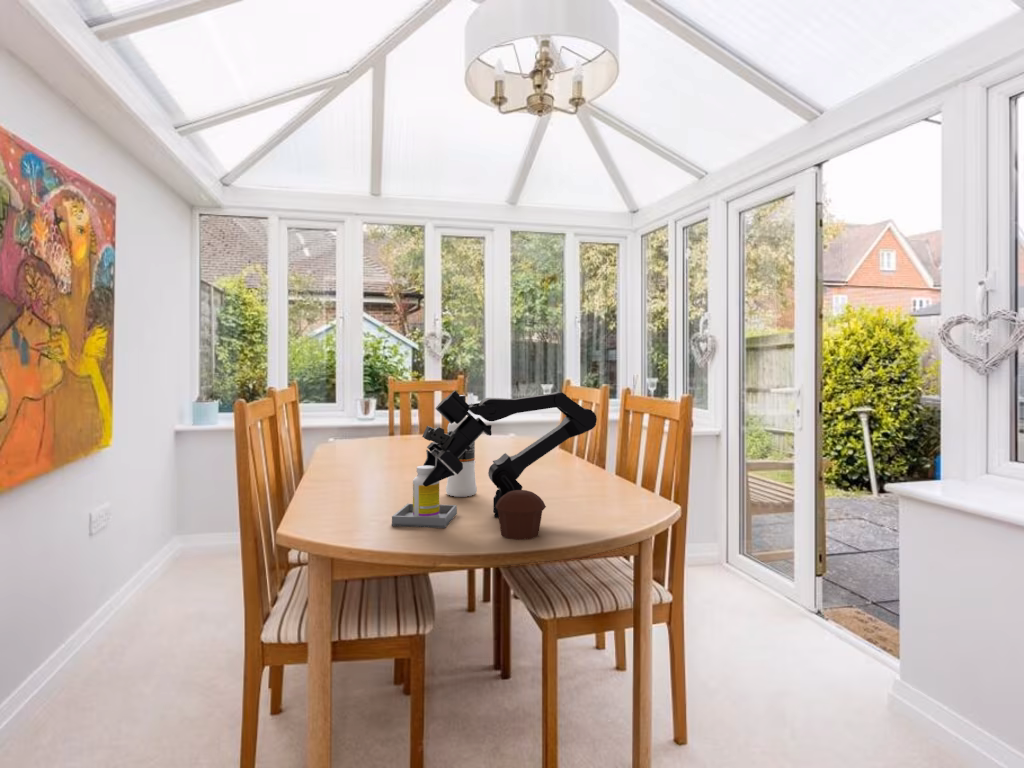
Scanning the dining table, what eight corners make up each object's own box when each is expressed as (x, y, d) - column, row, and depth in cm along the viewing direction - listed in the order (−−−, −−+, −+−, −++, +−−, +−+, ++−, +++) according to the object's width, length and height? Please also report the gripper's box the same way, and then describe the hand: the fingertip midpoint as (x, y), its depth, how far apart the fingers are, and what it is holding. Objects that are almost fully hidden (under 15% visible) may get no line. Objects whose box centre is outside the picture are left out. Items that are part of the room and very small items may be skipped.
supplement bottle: (444, 517, 150) (444, 466, 150) (423, 522, 146) (423, 470, 145) (428, 512, 155) (428, 463, 155) (407, 517, 150) (407, 466, 150)
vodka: (458, 489, 186) (458, 393, 185) (482, 493, 181) (483, 394, 180) (439, 495, 178) (439, 395, 177) (464, 499, 173) (464, 396, 172)
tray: (456, 514, 156) (456, 505, 156) (445, 528, 143) (445, 518, 143) (407, 512, 158) (407, 503, 157) (391, 526, 144) (391, 516, 144)
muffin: (492, 540, 133) (493, 496, 133) (496, 527, 144) (496, 486, 144) (546, 541, 133) (546, 497, 132) (545, 528, 144) (546, 486, 143)
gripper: (434, 411, 159) (393, 454, 156) (449, 418, 142) (403, 466, 139) (463, 440, 162) (423, 482, 159) (481, 449, 144) (436, 497, 141)
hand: (420, 481), depth 150 cm, fingers open, 9 cm apart
